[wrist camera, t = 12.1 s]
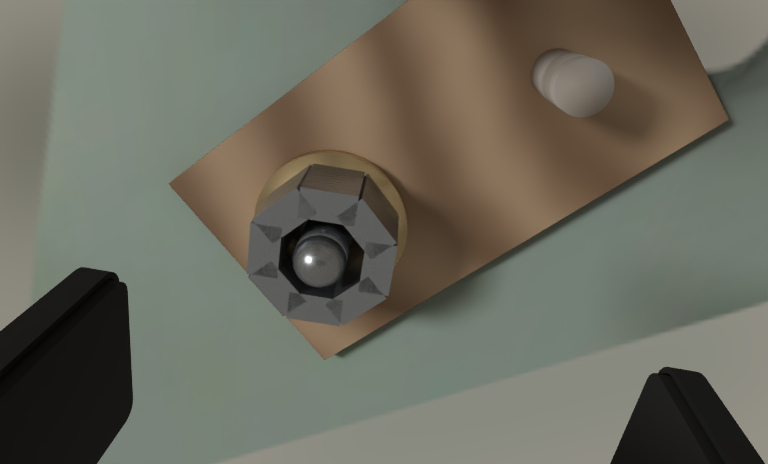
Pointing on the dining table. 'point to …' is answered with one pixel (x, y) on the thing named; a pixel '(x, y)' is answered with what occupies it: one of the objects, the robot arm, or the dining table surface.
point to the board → (473, 129)
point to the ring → (334, 205)
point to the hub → (329, 240)
